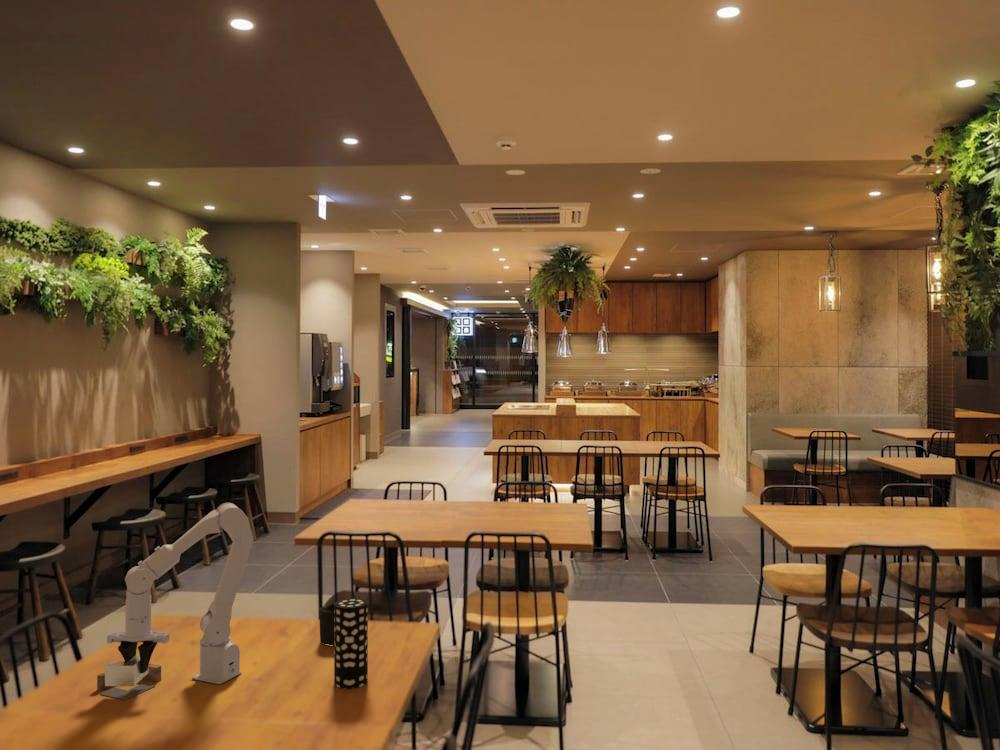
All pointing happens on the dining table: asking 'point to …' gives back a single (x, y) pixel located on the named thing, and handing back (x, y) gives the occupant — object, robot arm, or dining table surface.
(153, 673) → the corner jig
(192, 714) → the dining table surface
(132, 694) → the L-shaped mat
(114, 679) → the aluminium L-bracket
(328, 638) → the pen holder
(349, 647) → the white-spotted black cylinder
